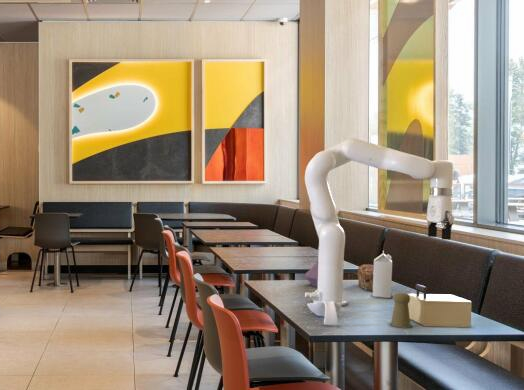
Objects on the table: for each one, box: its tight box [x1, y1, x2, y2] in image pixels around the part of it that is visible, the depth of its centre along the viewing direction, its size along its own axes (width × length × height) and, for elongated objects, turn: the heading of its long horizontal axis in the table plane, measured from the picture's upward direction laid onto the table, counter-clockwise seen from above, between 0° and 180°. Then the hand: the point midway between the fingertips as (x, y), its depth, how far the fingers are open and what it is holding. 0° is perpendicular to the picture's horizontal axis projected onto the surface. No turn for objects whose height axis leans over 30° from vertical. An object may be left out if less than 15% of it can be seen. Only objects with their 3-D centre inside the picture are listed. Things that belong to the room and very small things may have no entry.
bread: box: [357, 263, 374, 292], centre depth 283 cm, size 19×11×10 cm, turn 170°
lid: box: [407, 283, 473, 304], centre depth 217 cm, size 16×13×5 cm
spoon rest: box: [306, 301, 342, 326], centre depth 219 cm, size 24×12×7 cm, turn 172°
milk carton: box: [372, 250, 393, 299], centre depth 264 cm, size 7×7×19 cm
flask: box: [304, 246, 319, 288], centre depth 286 cm, size 16×16×20 cm
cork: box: [390, 292, 411, 329], centre depth 211 cm, size 6×6×11 cm
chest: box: [408, 297, 473, 328], centre depth 217 cm, size 16×13×8 cm
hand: (439, 237), depth 237 cm, fingers open, 9 cm apart
